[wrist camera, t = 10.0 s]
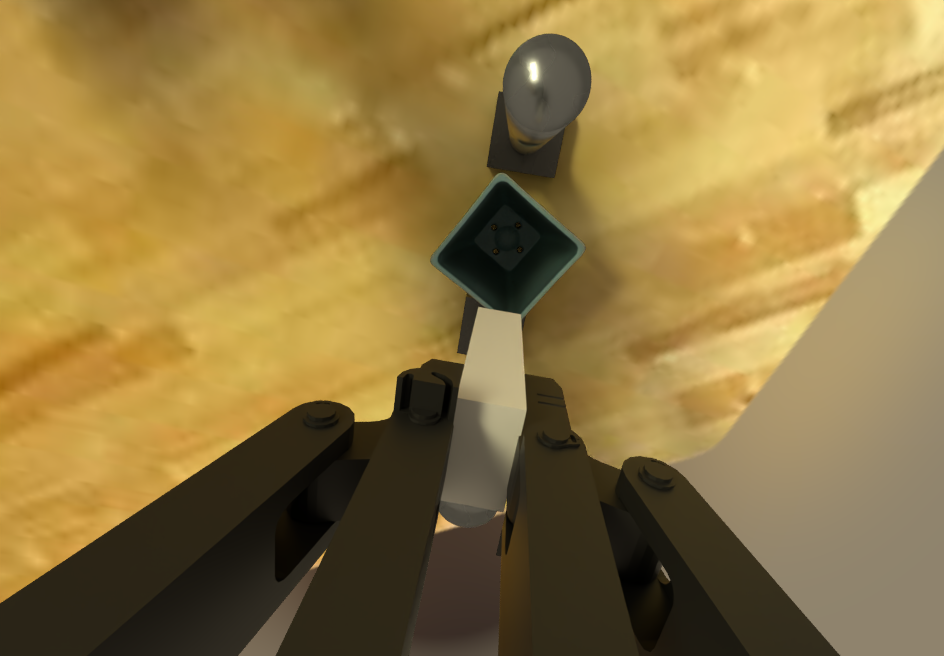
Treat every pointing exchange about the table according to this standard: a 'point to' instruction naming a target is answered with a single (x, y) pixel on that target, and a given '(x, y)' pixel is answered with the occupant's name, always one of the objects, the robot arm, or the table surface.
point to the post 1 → (449, 510)
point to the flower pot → (507, 249)
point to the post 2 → (538, 104)
